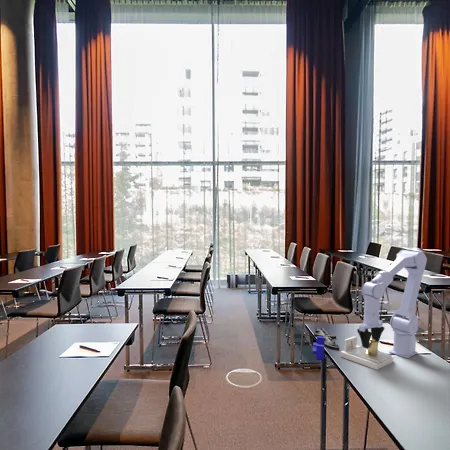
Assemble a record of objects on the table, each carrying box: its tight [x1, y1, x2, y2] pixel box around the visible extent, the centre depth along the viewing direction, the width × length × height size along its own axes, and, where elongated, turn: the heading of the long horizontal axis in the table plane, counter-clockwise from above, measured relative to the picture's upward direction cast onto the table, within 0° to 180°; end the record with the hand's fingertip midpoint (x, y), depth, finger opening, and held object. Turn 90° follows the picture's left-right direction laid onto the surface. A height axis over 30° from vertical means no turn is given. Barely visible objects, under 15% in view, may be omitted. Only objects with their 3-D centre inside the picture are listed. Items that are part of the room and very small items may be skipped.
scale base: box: [339, 335, 394, 370], centre depth 153 cm, size 13×16×6 cm
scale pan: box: [349, 345, 392, 363], centre depth 152 cm, size 10×13×1 cm
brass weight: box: [366, 337, 379, 356], centre depth 151 cm, size 4×4×6 cm
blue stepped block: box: [312, 336, 325, 361], centre depth 157 cm, size 12×4×6 cm, turn 165°
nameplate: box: [313, 327, 340, 351], centre depth 176 cm, size 27×2×10 cm
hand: (370, 345), depth 152 cm, fingers open, 7 cm apart
